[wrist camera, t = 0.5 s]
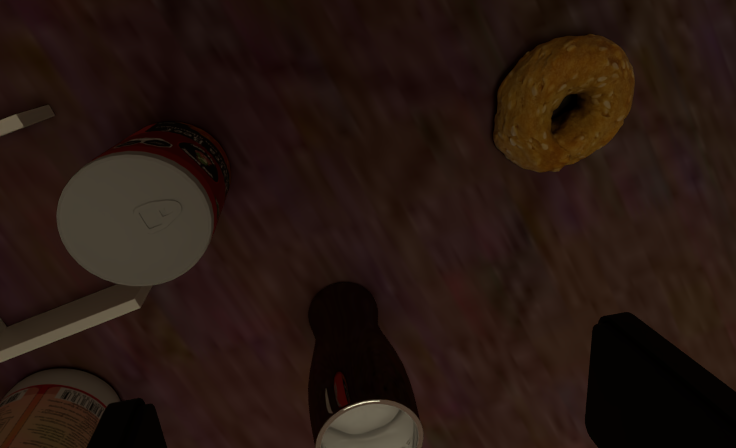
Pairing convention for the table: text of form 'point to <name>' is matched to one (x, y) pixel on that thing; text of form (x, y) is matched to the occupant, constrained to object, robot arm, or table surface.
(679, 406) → the robot arm
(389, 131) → the table surface
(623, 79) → the bagel
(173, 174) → the canned food
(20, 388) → the fruit juice
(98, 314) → the box
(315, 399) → the beer glass
